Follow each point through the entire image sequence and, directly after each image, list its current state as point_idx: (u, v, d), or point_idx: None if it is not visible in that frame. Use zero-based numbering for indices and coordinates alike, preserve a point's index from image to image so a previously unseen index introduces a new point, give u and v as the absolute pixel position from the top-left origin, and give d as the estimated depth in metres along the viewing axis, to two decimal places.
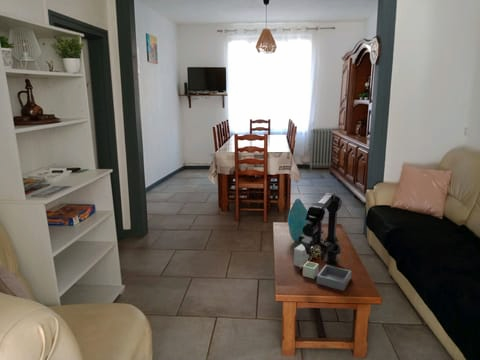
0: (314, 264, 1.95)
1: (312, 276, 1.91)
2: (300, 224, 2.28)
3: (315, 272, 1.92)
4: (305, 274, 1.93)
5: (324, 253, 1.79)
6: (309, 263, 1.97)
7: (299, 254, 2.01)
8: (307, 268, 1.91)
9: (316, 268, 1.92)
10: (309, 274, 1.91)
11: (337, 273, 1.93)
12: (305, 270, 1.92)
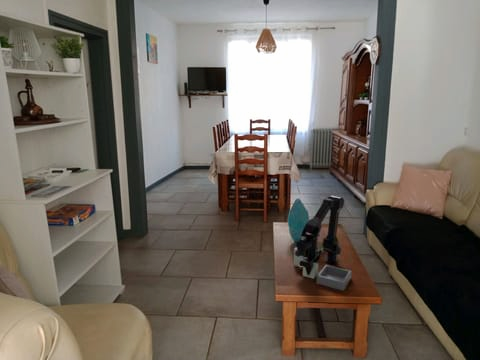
0: (314, 264, 1.95)
1: (312, 276, 1.91)
2: (300, 224, 2.28)
3: (315, 272, 1.92)
4: (305, 274, 1.93)
5: (308, 268, 1.90)
6: None
7: None
8: None
9: (316, 268, 1.92)
10: None
11: (337, 273, 1.93)
12: (305, 270, 1.92)
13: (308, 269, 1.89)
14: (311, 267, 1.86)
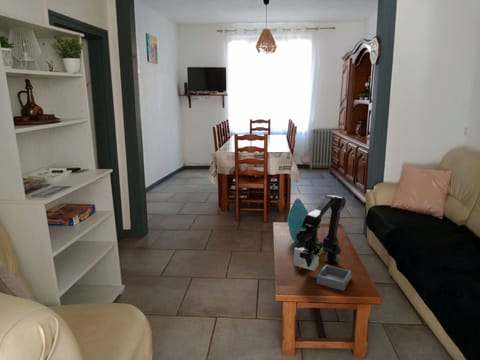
0: (314, 256, 1.94)
1: (312, 268, 1.89)
2: (300, 224, 2.28)
3: (315, 263, 1.90)
4: (305, 266, 1.91)
5: (308, 260, 1.88)
6: None
7: (299, 254, 2.01)
8: None
9: (316, 260, 1.91)
10: None
11: (337, 273, 1.93)
12: (305, 262, 1.91)
13: (308, 261, 1.88)
14: (311, 259, 1.85)
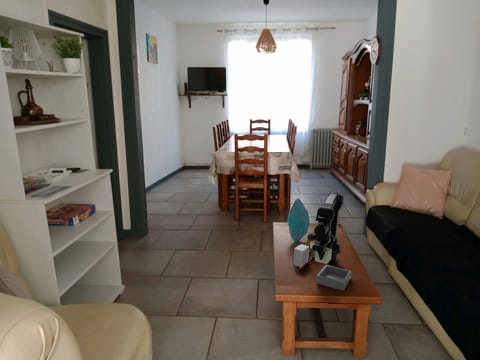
0: (327, 249, 1.89)
1: (325, 261, 1.85)
2: (300, 224, 2.28)
3: (328, 257, 1.86)
4: (317, 259, 1.87)
5: (320, 253, 1.84)
6: None
7: (299, 254, 2.01)
8: None
9: (329, 253, 1.86)
10: (322, 259, 1.85)
11: (337, 273, 1.93)
12: (318, 255, 1.86)
13: (321, 254, 1.83)
14: (324, 251, 1.80)
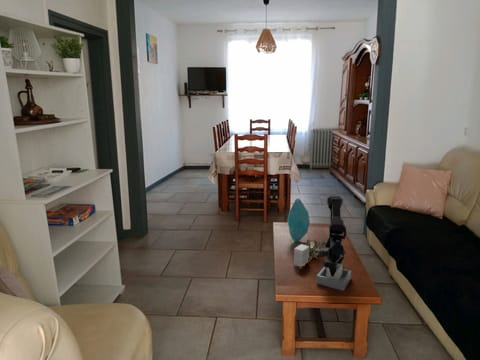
0: (338, 265, 1.88)
1: (336, 277, 1.83)
2: (300, 224, 2.28)
3: (340, 273, 1.84)
4: (329, 275, 1.85)
5: (332, 269, 1.82)
6: None
7: (299, 254, 2.01)
8: None
9: (340, 269, 1.85)
10: None
11: None
12: (329, 271, 1.85)
13: (332, 270, 1.82)
14: (336, 268, 1.79)
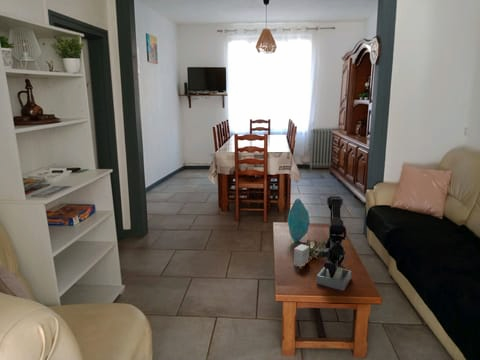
0: (338, 268, 1.88)
1: None
2: (300, 224, 2.28)
3: (339, 276, 1.85)
4: None
5: (331, 271, 1.81)
6: None
7: (299, 254, 2.01)
8: None
9: (340, 272, 1.85)
10: None
11: None
12: (329, 275, 1.85)
13: (332, 272, 1.81)
14: (335, 270, 1.78)
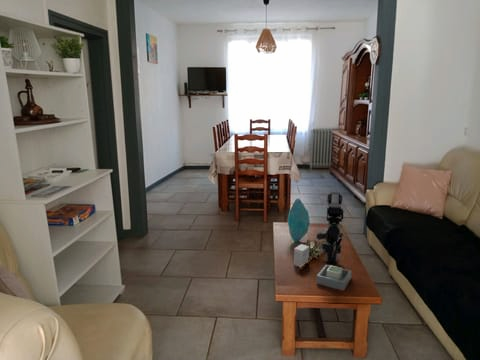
0: (338, 268, 1.88)
1: None
2: (300, 224, 2.28)
3: (339, 276, 1.85)
4: None
5: (329, 252, 1.85)
6: (332, 267, 1.90)
7: (299, 254, 2.01)
8: (331, 272, 1.84)
9: (340, 272, 1.85)
10: None
11: None
12: (329, 275, 1.85)
13: (329, 253, 1.85)
14: (333, 251, 1.82)
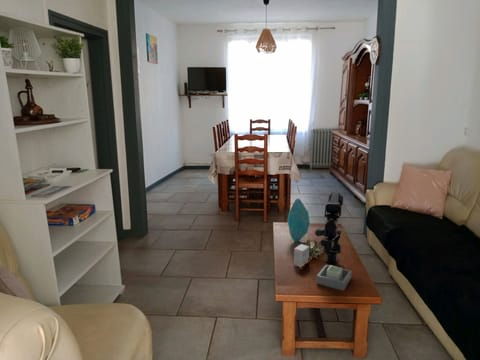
0: (338, 268, 1.88)
1: None
2: (300, 224, 2.28)
3: (339, 276, 1.85)
4: None
5: (327, 248, 1.88)
6: (332, 267, 1.90)
7: (299, 254, 2.01)
8: (331, 272, 1.84)
9: (340, 272, 1.85)
10: None
11: None
12: (329, 275, 1.85)
13: (328, 249, 1.88)
14: (331, 247, 1.85)
